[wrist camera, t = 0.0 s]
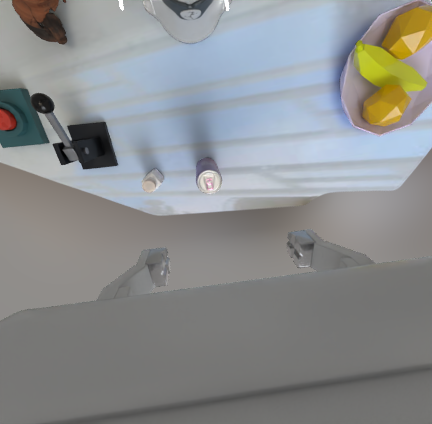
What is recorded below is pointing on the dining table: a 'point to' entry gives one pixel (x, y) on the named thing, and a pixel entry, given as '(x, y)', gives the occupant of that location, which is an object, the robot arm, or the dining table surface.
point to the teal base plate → (21, 120)
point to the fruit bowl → (390, 71)
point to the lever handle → (53, 122)
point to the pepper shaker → (152, 181)
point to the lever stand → (89, 146)
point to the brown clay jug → (41, 19)
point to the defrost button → (7, 120)
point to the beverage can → (208, 176)
